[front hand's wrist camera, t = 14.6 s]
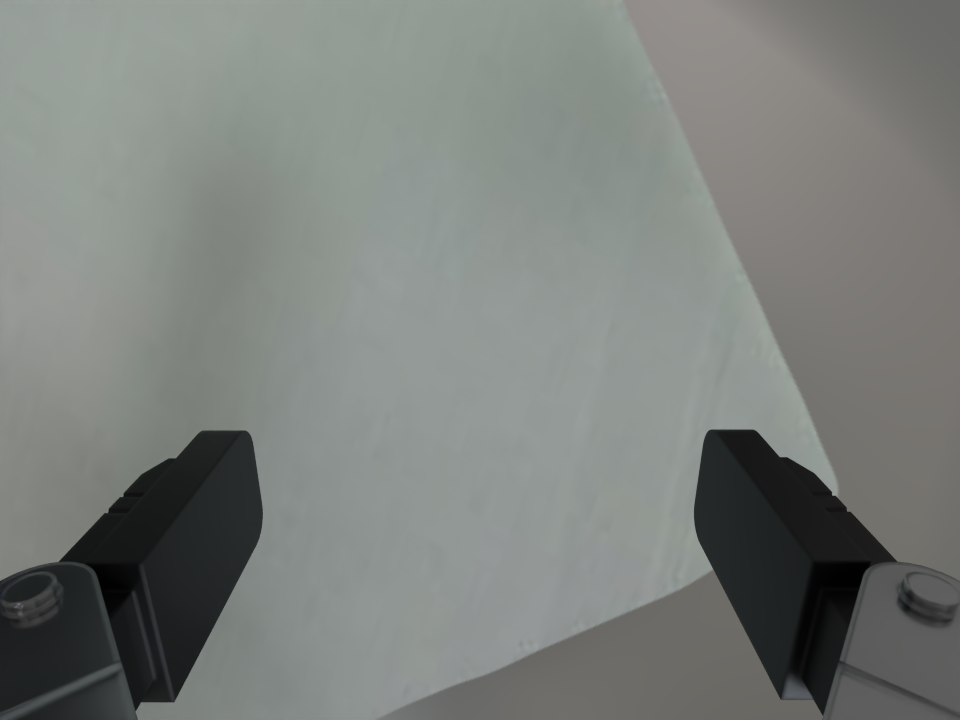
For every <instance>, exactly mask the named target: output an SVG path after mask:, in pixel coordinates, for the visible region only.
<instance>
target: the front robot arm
mask: <svg viewBox="0 0 960 720" xmlns="http://www.w3.org/2000/svg"><path fill="white" fill-rule="evenodd" d="M262 520H263V509H262V501H261V494H260V487H259V480H258V473H257V467H256V460H255V453H254V446H253V441H252V438H251V436H250V434H249V433H248V432H247V431H201V432H200V433H198V434H197V436H196V437H195V438H194V439H193V440H192V441H191V442H190V443H189V444H188V446H187V447H186V448H185V449H184V450H183V451H182V452H181V453H180V455H179V456H178V457H177V458H169V459H167V460H165V461H164V462H162V463H160V464H159V465H157V466H155V467H154V468H152V469H150V470H148V471H147V472H145V473H143V474H142V475H141V476H140V477H139V478H138V479H137V480H136V481H135V482H134V483H133V484H132V485H131V486H130V487H129V488H128V489H127V490H126V491H125V492H124V496H123V497H120V498H119V499H118V500H117V501H116V502H115V503H114V504H113V505H112V506H111V507H110V508H109V512H108V513H105V514H104V515H103V516H102V517H101V518H100V519H99V520H98V521H97V522H96V523H95V524H94V525H93V526H92V527H91V528H90V529H89V530H88V531H87V533H86V534H85V535H84V536H83V537H82V538H81V539H80V540H79V541H78V542H77V543H76V544H75V545H74V546H73V547H72V548H71V549H70V550H69V551H68V553H67V554H66V555H65V556H64V557H63V558H62V559H61V560H60V561H59V562H55V563H48V564H44V565H39V566H36V567H32V568H29V569H26V570H23V571H21V572H18V573H16V574H14V575H11V576H9V577H7V578H5V579H3V580H1V581H0V720H138V719H137V715H136V710H137V708H138V706H139V705H140V703H141V702H175V700H176V698H177V696H178V694H179V692H180V690H181V688H182V686H183V684H184V682H185V681H186V679H187V677H188V675H189V673H190V671H191V669H192V667H193V665H194V663H195V661H196V660H197V658H198V656H199V654H200V652H201V650H202V648H203V646H204V644H205V642H206V640H207V638H208V637H209V635H210V633H211V631H212V629H213V627H214V625H215V623H216V621H217V619H218V617H219V616H220V614H221V612H222V610H223V608H224V606H225V604H226V602H227V600H228V598H229V596H230V595H231V593H232V591H233V589H234V587H235V585H236V583H237V581H238V579H239V577H240V575H241V574H242V572H243V570H244V568H245V566H246V564H247V562H248V560H249V558H250V556H251V554H252V553H253V551H254V549H255V547H256V545H257V543H258V540H259V537H260V533H261V528H262ZM694 522H695V529H696V533H697V537H698V540H699V542H700V544H701V546H702V548H703V550H704V552H705V554H706V556H707V558H708V560H709V562H710V564H711V566H712V568H713V569H714V571H715V573H716V575H717V577H718V579H719V581H720V583H721V585H722V587H723V589H724V591H725V593H726V595H727V596H728V598H729V600H730V602H731V604H732V606H733V608H734V610H735V612H736V614H737V616H738V618H739V620H740V622H741V624H742V625H743V627H744V629H745V631H746V633H747V635H748V637H749V639H750V641H751V643H752V645H753V647H754V649H755V651H756V653H757V654H758V656H759V658H760V660H761V662H762V664H763V666H764V668H765V670H766V672H767V674H768V676H769V678H770V680H771V682H772V684H773V685H774V687H775V689H776V691H777V693H778V695H779V697H780V699H781V700H814V701H815V703H816V704H817V706H818V708H819V710H820V712H821V713H822V715H823V719H822V720H960V581H959V580H957V579H955V578H953V577H951V576H949V575H946V574H944V573H942V572H939V571H936V570H934V569H931V568H928V567H924V566H921V565H916V564H911V563H905V562H897V561H896V560H895V559H894V558H893V556H892V555H891V554H890V553H889V552H888V551H887V550H886V549H885V548H884V547H883V546H882V545H881V544H880V543H879V542H878V541H877V539H876V538H875V537H874V536H873V535H872V534H871V533H870V532H869V531H868V530H867V529H866V528H865V527H864V526H863V525H862V524H861V522H860V521H859V520H858V519H857V518H856V517H855V516H854V515H853V514H852V513H851V512H847V508H846V506H845V505H844V504H843V503H842V502H841V501H840V500H839V499H838V498H837V497H836V496H832V492H831V491H830V489H829V488H828V487H827V486H826V485H825V484H824V483H823V482H822V481H821V480H820V479H819V478H818V477H817V476H816V475H815V474H814V473H813V472H811V471H809V470H808V469H806V468H804V467H803V466H801V465H799V464H798V463H796V462H794V461H793V460H791V459H789V458H787V457H779V456H778V455H777V454H776V452H775V451H774V450H773V449H772V448H771V447H770V446H769V444H768V443H767V442H766V441H765V440H764V439H763V438H762V437H761V435H760V434H759V433H758V432H757V431H755V430H709V431H708V432H707V434H706V436H705V439H704V443H703V449H702V456H701V463H700V470H699V477H698V484H697V491H696V498H695V505H694Z"/></svg>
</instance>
